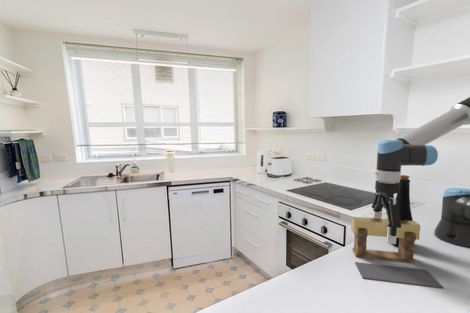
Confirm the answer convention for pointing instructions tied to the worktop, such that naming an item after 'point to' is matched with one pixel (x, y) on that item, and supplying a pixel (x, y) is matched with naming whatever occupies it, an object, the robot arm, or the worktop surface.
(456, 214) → the robot arm
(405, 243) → the rack
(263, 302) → the worktop surface
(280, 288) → the worktop surface
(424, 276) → the mat
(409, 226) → the rail
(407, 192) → the bottle
